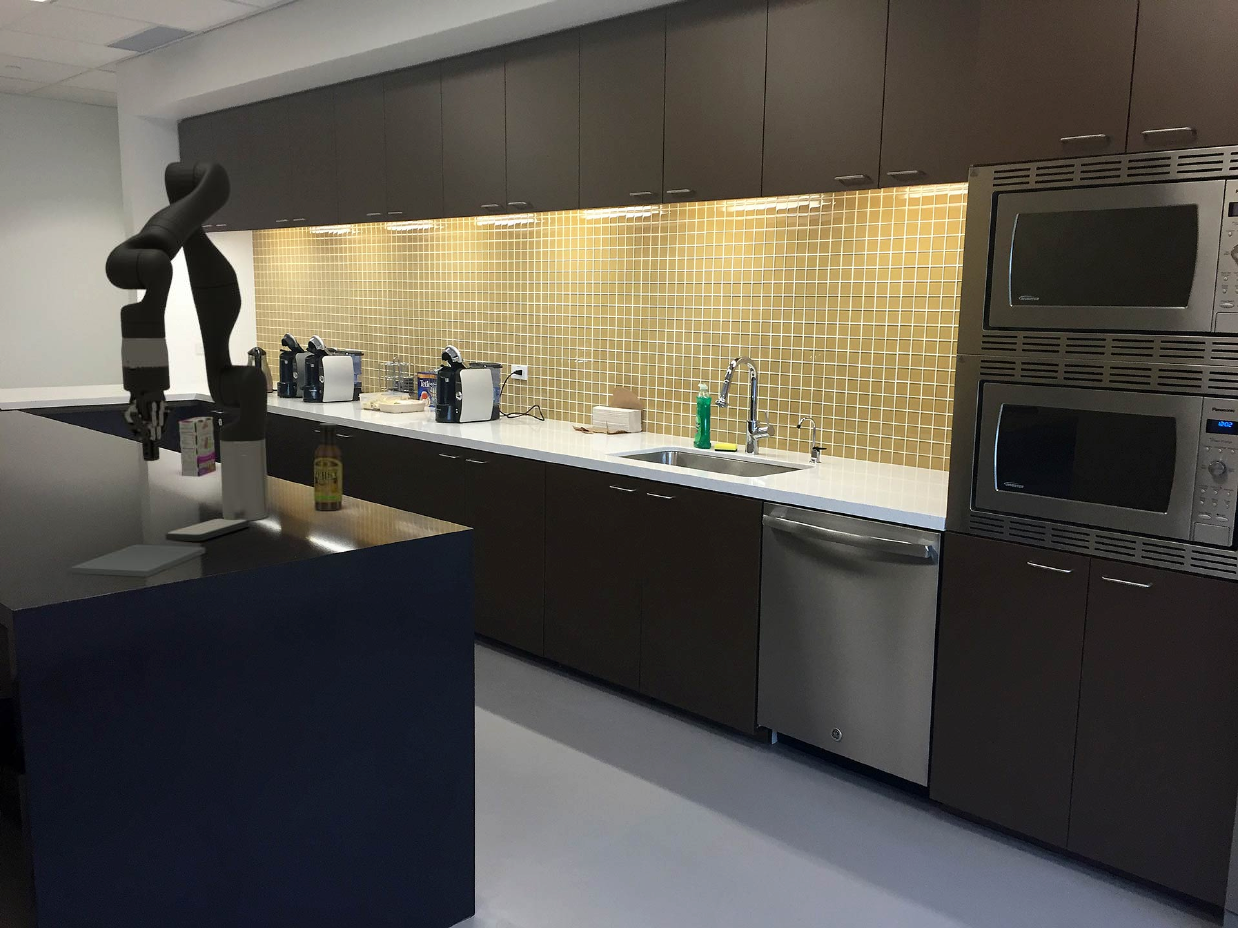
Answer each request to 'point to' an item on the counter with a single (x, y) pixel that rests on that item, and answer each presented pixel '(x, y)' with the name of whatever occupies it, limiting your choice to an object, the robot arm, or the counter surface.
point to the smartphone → (207, 530)
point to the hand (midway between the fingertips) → (151, 460)
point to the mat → (138, 560)
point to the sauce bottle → (328, 470)
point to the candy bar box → (197, 446)
